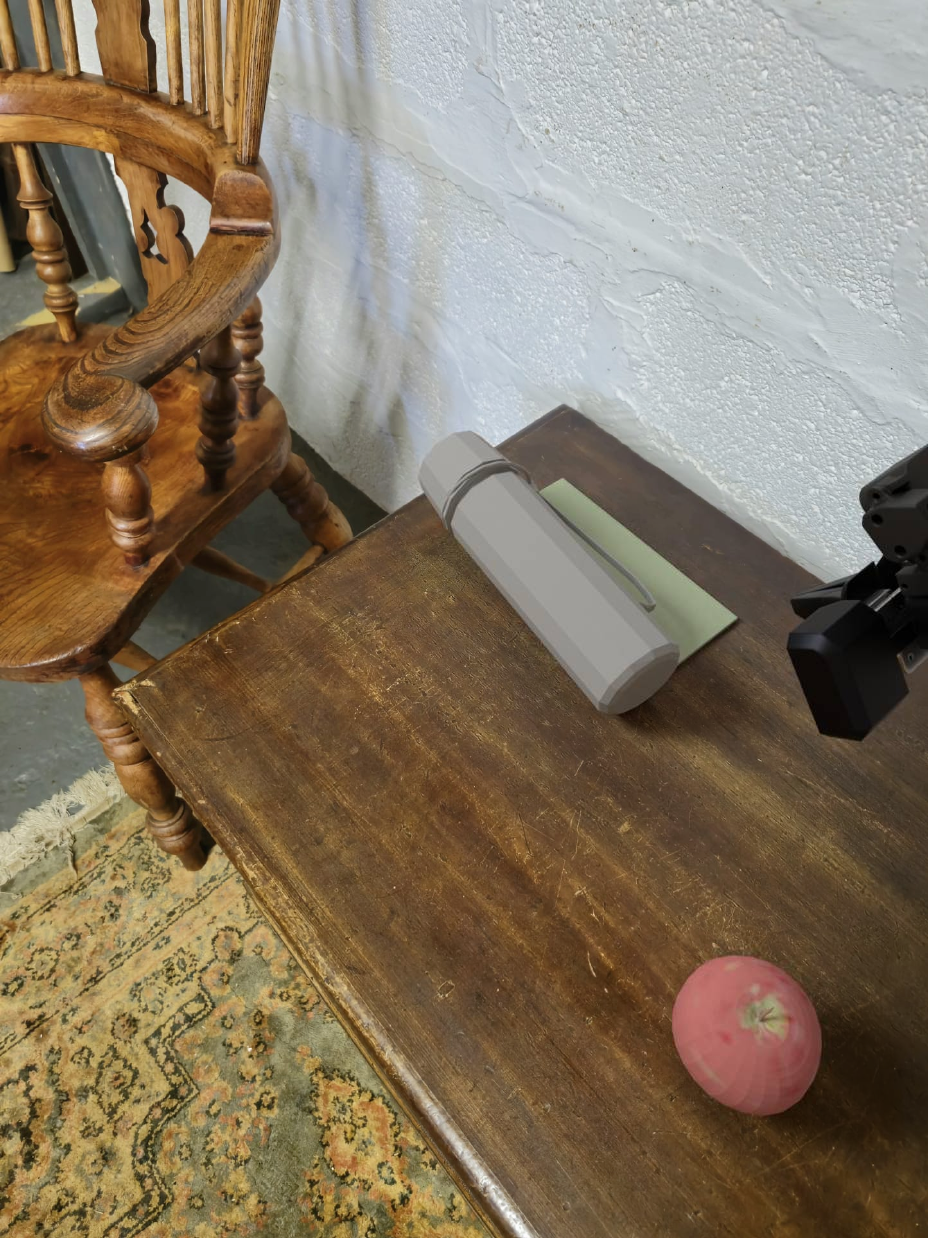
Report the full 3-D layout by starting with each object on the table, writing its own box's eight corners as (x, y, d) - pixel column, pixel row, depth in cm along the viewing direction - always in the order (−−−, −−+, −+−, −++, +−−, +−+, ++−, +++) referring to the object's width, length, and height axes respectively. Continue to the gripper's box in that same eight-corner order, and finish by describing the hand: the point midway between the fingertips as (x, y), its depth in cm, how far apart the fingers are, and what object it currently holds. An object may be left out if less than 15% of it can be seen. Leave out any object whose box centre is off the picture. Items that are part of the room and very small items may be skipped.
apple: (687, 954, 51) (725, 909, 45) (805, 1024, 49) (863, 988, 43) (636, 1070, 47) (670, 1039, 41) (762, 1152, 45) (819, 1133, 39)
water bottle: (617, 679, 54) (413, 443, 65) (593, 737, 60) (411, 512, 72) (721, 620, 57) (510, 405, 69) (688, 681, 64) (500, 475, 75)
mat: (736, 620, 67) (738, 617, 67) (632, 700, 62) (633, 697, 62) (562, 480, 76) (562, 477, 76) (459, 540, 71) (459, 537, 71)
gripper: (1120, 362, 41) (841, 425, 55) (908, 533, 33) (645, 557, 47) (1172, 566, 44) (893, 577, 57) (988, 768, 36) (716, 726, 50)
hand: (795, 604), depth 53 cm, fingers closed
